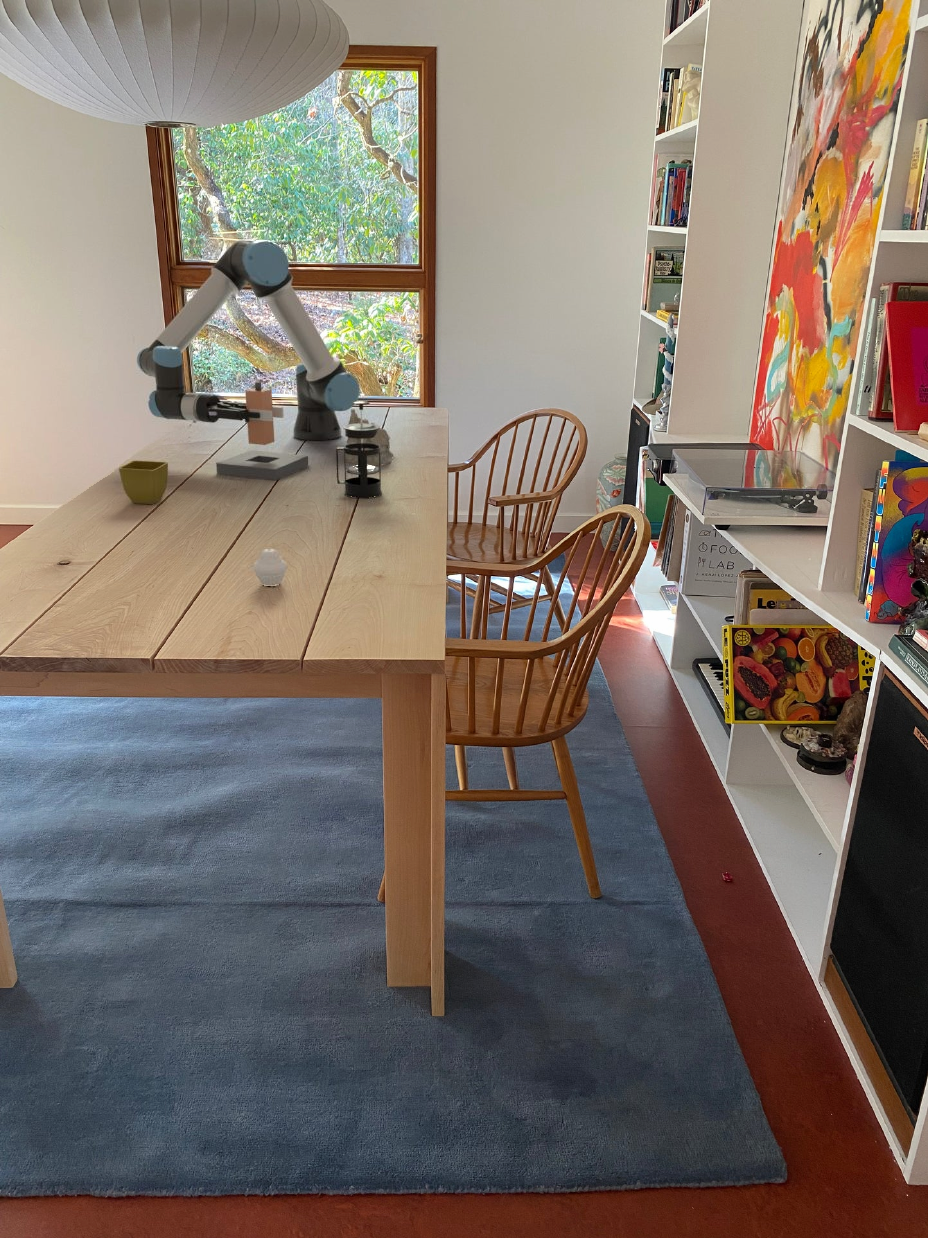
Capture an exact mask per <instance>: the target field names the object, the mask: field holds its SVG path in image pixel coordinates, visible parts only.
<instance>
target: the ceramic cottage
mask: <svg viewBox="0 0 928 1238" xmlns="http://www.w3.org/2000/svg"><path fill="white" fill-rule="evenodd" d="M358 416H359V415H358V413H357V412H356V410H355V409H354V408H352V409H351V408H350V416H349V420H348V423H347V425H349V424H361V417H358ZM362 424H374V425H376V424H375V422H371V423H369V420H368V419H366V418H364V419H363V418H362ZM390 440H391V438H390V436H389V434H388V432H387V430H386V429H385V428H381V427H380V429H378V431H377V433H376V435H375V437H373V438H368V439H363V443H372V444H377V445H379V446H380V465H382V464H386V465H388V464H390V463H389V462H392V461H391V459H392V460H393V458H394V457H393V456H394V453H393V452H392V451H390V445H391V444H390ZM353 443H361V439H356V438H349V437H347V439H346V445H348V444H353ZM351 450H358V448H356V449H351ZM365 450H373V449H369V448H365ZM392 457H393V458H392ZM346 460H347V461H346ZM345 461H346V462H348V463H351V462H354V463H353V464H355V463H356V465H358V456H356V455H349V454H346V453H345ZM387 463H388V464H387ZM367 465H371V466H376V467H379V453H378V454H375V455H368V456H367ZM382 466H383V465H382Z"/></svg>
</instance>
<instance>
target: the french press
mask: <svg viewBox="0 0 928 1238" xmlns="http://www.w3.org/2000/svg"><path fill="white" fill-rule="evenodd" d="M353 404H355V405H358V407H359V408H358V409H359V411H360V418H361V424H349V425H348V424H345V425H344V426H343V430H344V436H345V437H347V438H348V437H349V438H356V439H361V443H353V444H348V445H347V444H345V445H343V446H337V447H335V456H336V457H335V458H336V482H337V484H340V485H342V484H344V491H343V492H344V493H345V494H344V496H346V495H347V496H346V497H348V496H352V497H356V498H355V499H360V498H365V499H370V498H369V497H374V496H378V497H380V496H382V494H383V491H382V484H381V483H382V479H381V476H382V474H381V465H380V446H379V445H377V444H372V443H363V439H368V438H373V437H375V435H376V433H377V431H378V429H380V428H381V427H380V425H378V424H375V425H374V424H371V423H369V424H362V419H363V411H364V406H366V405H370V402H369V401H366V400H357V401H355V402H353ZM356 448H358V450H351V449H356ZM365 448H369V449H373V450H365ZM339 450H340V451H343V458H344V459H343V461H344V463H343V464H344V480H340V479H339V475H340V474H339V452H338V451H339ZM378 453H379V466H371V465H367V456H368V455H375V454H378ZM345 454H349V455H356V456H358V464H356V465H351V466H347V464H346V463H347V461H346V460H345ZM377 473H379V478H377V477H373V476H368V475H375V474H377ZM347 474H350V475H357V476H355V477H354V476H353V477H348V478H347ZM379 495H380V496H379ZM374 498H375V497H374Z"/></svg>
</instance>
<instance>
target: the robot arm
mask: <svg viewBox="0 0 928 1238" xmlns="http://www.w3.org/2000/svg"><path fill="white" fill-rule="evenodd" d="M289 263H290V262H289V259H288V256H287V254H286V252H285V250H284V249H283V248H282V247H281V245H278V244H277V243H275V242H273V241H272V240H268V239H266V238H257V239H251V238H250V239H249V238H244V239H239V240H238V241H236V242H234V243H233V244H231V246H229V247H228V248H227V249H226V251H225V252H224V253H223V254H222V256H220V258H219V259H218V260H217V262H215V264H214V265H213V266H212V268H211V269H210V273H211V274H210V276H209V277H208V278H207V279H206V280H205V281H204V282H203V284H202V285H201V286H200V287H199V288H198V289H197V291H196V292H195V293H194V294H193V295H192V296H191V298H190V299H189V300H188V301H187V303H185V305H184V306H183V307H182V308H181V310H179V312H178V313H177V314H176V315H175V316H174V318H173V319H172V320H171V321H170V322H169V324H168V325H167V326H166V327H165V328H164V329H163V331H162V332H161V333H160V334H159V336H158V337H157V338H155V340H154V341H153V342H152V343H151V344H150V345H149V347H146V348H143V349H141V350H140V351H139V352H138V354H137V357H136V363H137V366H138V368H139V370H140V371H142V372H143V373H144V374H145V375H147V376H149V377H153V378H155V385H156V386H155V388H156V389H155V390H153V391H152V392H151V393H150V394H149V397H148V398H149V400H148V401H147V404H148V409H149V412H150V413H151V414H152V415H153V416H154V417H156V418H161V419H167V420H181V421H192V423H193V424H196V423H197V422H203V423H211V424H212V423H214V424H215V423H216V422H218V421H219V419H221V420H222V419H223V420H232V421H239V422H240V421H244V422H245V423H247V422H249V418H250V420H261V421H273V422H274V418H280V419H283V418H284V417H285V415H284V407H282V406H272V407H273V414H272V411H270V410H258V409H249V412H248V410H247V409H246V402H240V401H233V402H230V401H228V400H227V401H222V402H221V400H220V398H219V397H218V396H217V395H215V394H211V393H210V394H209V393H197V392H186V389H185V388H186V387H185V378H184V377H185V374H184V364H183V363H184V359H183V356H182V355H183V354H182V353H183V352H184V351H185V350H186V349H187V347H188V346H189V345H190V344H191V343H192V342H193V341H194V339H196V337H197V336H198V335H199V334H200V332H201V331H202V330H203V329H204V328H205V326H206V325H207V324H208V323H209V322H210V321H211V320H212V319H213V317H214V316H215V314H217V312H218V311H219V310H220V309H222V307H223V306H224V304H225V303H226V302H227V301H228V300H229V298H230V297H231V296H232V295H233V294H234V295H235V294H236V295H237V294H239V293H240V291H241V290H243V289H244V287H246V286H248V285H249V286H250V288H251V290H252V292H253V293H254V294H255V296H256V297H257V299H260V300H264V301H265V302H266V304H267V306H268V308H269V309H270V311H271V313H272V314H273V316H274V317H275V319H276V321H277V322H278V324H279V326H280V328H281V329H282V331H283V332H284V334H285V336H286V337H287V339H288V340H289V343H290V345H292V348H293V349H294V351H295V352H296V354H297V356H298V358H299V359H300V361H301V362H302V363H299V364H298V365H297V366H296V367H295V368H296V369H295V370H296V371H295V377H296V378H295V379H296V396H297V415H296V418H295V423H294V427H293V429H292V430H293V437H294V438H295V439H298V440H303V439H304V440H305V441H329V440H336V439H338V437H339V438H340V437H342V429H341V426H340V422H339V420H338V417H337V414H336V412H345V411H348V410H351V408H353V407H354V406H355V405H356V404H353V402H355V401H359V396H360V393H361V391H360V390H361V387H360V383H359V381H358V378H356V376H354V375H353V374H352V373H350V372H348V371H347V370H346V368H345V366H344V364H343V363H342V361H341V359H340V358H338V357H335V356H332V353H331V352H330V350H329V348H328V347H327V345H326V344H325V342H324V339H323V338H322V336H321V334H320V333H319V331H318V329H317V327H316V326H315V324H314V322H313V321H312V319H311V318H310V315H309V314H308V312H307V310H306V309H305V308H306V307H304V305H303V304H302V301H301V300H300V298H299V296H298V294H297V293H296V291H295V290H294V288H293V286H292V282H293V278H294V277H293V275H292V274H291V272H290V270H289V267H290V265H289ZM328 439H329V440H328Z"/></svg>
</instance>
